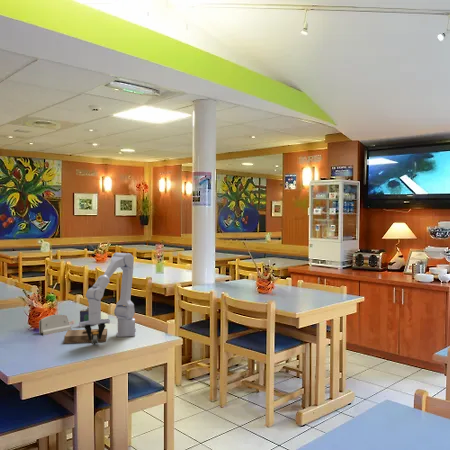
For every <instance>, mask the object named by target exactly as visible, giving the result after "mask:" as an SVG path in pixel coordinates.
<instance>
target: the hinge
mask: <svg viewBox="0 0 450 450" xmlns="http://www.w3.org/2000/svg"><path fill="white" fill-rule="evenodd" d="M38 330H39V331H38V332H39V335H40V334H42V335H43V336H47V335H53V334H56V333H61V332H67V331H68V330H73V329H72V326H71V323H70V320H69V318H68V316H67V315H66V314H52V315H49V316H46V317H45V316H44V317H43V318H41V319H40V320H39V321H38Z"/></svg>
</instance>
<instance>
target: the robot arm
mask: <svg viewBox="0 0 450 450" xmlns="http://www.w3.org/2000/svg"><path fill="white" fill-rule="evenodd" d="M134 262H135V257H134V256H133V254H132V253H129V252H127V253H126V252H114V253H113V254H112V256H111V257H110V263H109V265H108V266H107V268H106V269H105V272H104V273H103V274H101V275H99V276H98V278H97V279H96V281H95V283H93V285H92V286H91V287H89V288H88V289H87V291H86V293H85V297H86V299H87V303H88V307H89V321H84V322H80V321H79V322H78V326H79V327H80V328H82V327H84V330H86V332H87V334H88V339H89V341H91V329H92V326H90V325H94V326H98V328H97V329H99V334H98V337H99V339H101V336H102V333H103V330H104V329H106V324H111V319H109V318H104V319H101V318H102V317H101V316H102V315H101V313H102V311H101V310H102V304H101V303H102V301H101V300H102V298H103V297H104V293H105V290H106V288H107V287H108V285H109V284H110V282H111V281H110V278H111V277H112V276H113V274H114V273H115V272H116V271H117V270H118V269H119V268H120V269H121V270H122V275H121V285H120V286H121V287H120V295H119V296H120V297H119V300H118V301H117V302H116V303H115V307H114V316H116V319H117V332H116V337H117V338H119V337H121V338H123V337H135V336H136V332H137V330H136V318H135V317H134V316H135V310H136V309H135V304H134V302H133V301H132V300H131V296H132V288H133V287H132V286H133V274H134Z"/></svg>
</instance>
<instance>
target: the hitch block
mask: <svg viewBox="0 0 450 450" xmlns="http://www.w3.org/2000/svg"><path fill="white" fill-rule="evenodd" d="M92 330H99V329H98V328H95V329H93V328H91V331H92ZM107 337H108V328H104V330H103V333H102V336H101V339H99V337H98V343H100V342H101V343H102V342H105V343H106V342H107ZM63 338H64V339H63V341H64V344H80V343H81V344H82V343H92V334H91V341H89V339H88V334H87V332H86V329H72V330H67V331H66V333H65V335H64V336H63Z"/></svg>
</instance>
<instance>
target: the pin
mask: <svg viewBox="0 0 450 450" xmlns="http://www.w3.org/2000/svg"><path fill="white" fill-rule="evenodd" d="M91 334H92V342H91V344H92V345H96V344H97V345H98V344H99V342H98V334H99V330H92V331H91Z"/></svg>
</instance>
